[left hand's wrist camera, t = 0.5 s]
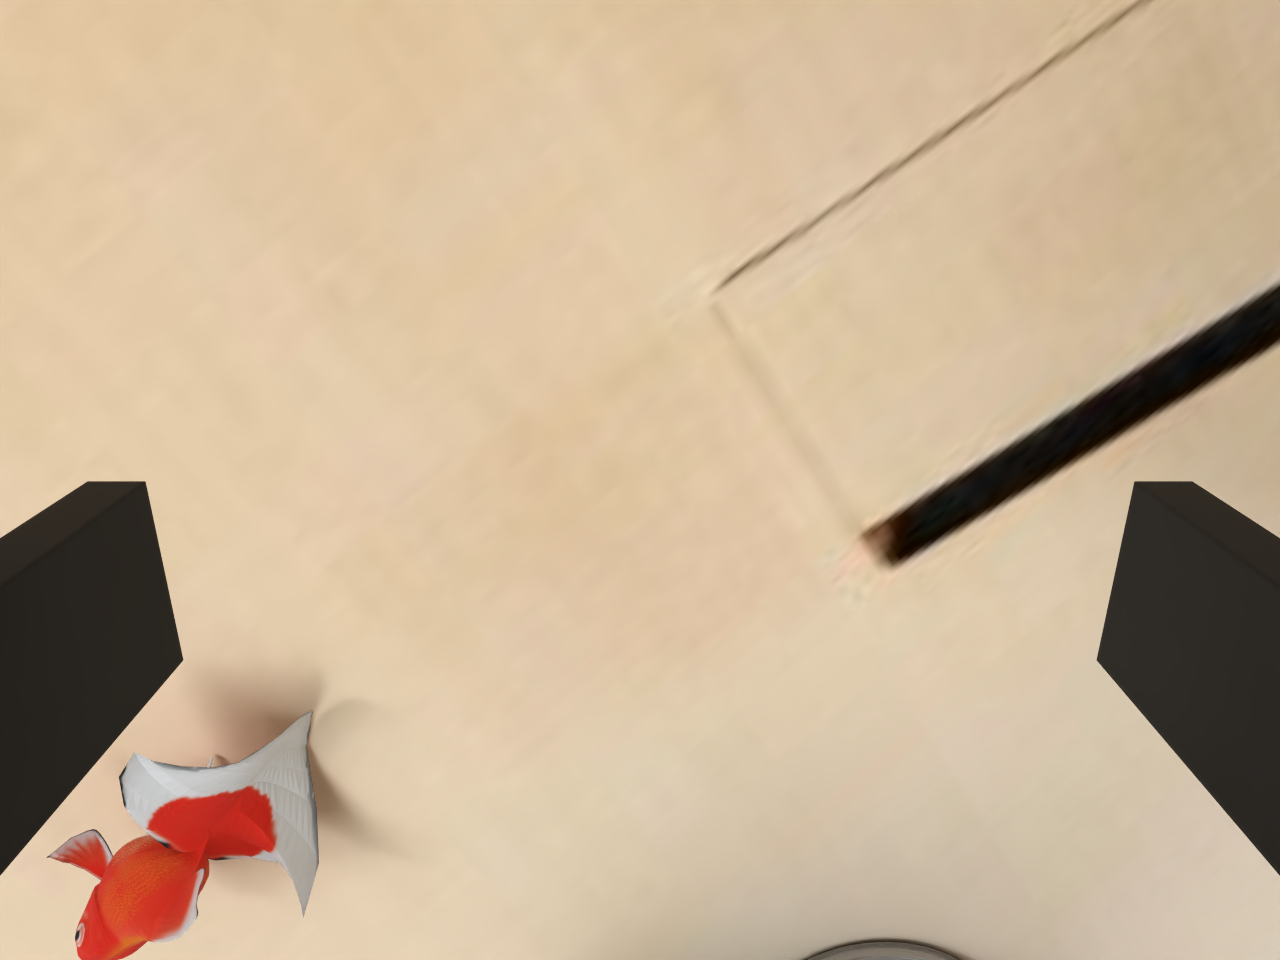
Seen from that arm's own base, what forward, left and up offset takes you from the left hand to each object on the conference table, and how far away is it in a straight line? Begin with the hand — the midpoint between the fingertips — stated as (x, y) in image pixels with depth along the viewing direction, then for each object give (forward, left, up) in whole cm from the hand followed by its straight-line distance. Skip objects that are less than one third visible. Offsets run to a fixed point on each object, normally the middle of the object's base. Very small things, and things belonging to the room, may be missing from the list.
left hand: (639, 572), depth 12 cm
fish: (-27, +21, -27) cm, 44 cm away
